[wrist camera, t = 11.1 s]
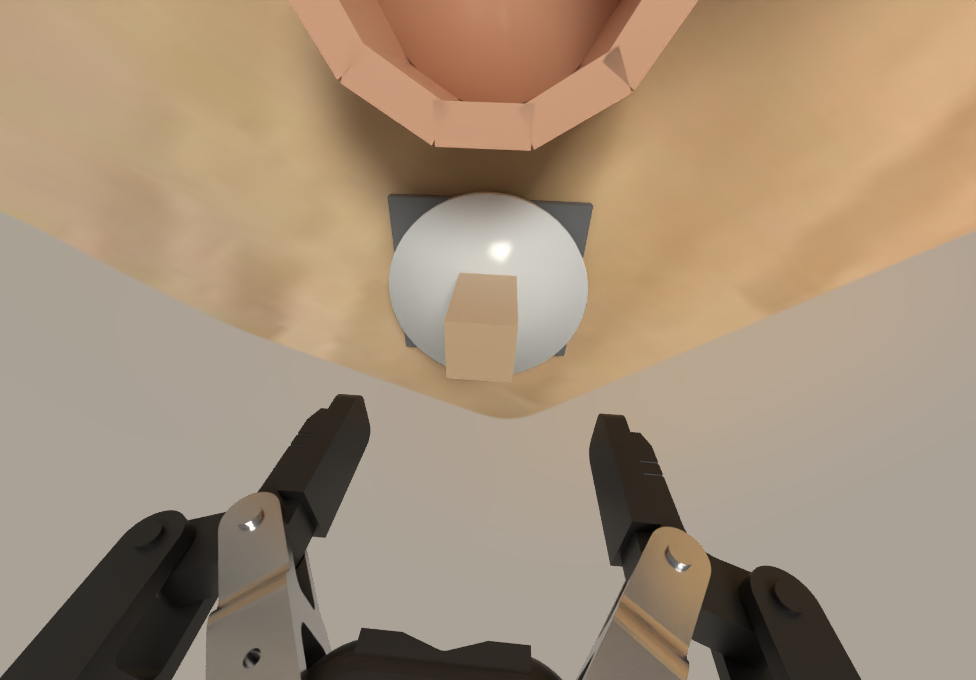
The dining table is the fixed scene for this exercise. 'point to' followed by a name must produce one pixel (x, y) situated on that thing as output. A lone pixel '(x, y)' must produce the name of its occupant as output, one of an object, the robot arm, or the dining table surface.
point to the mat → (414, 206)
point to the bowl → (491, 61)
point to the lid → (488, 285)
